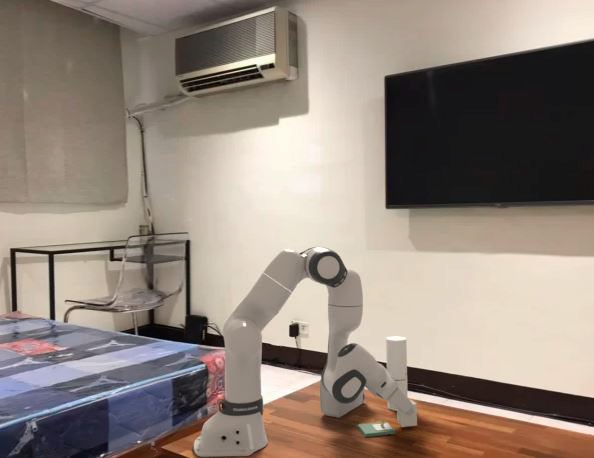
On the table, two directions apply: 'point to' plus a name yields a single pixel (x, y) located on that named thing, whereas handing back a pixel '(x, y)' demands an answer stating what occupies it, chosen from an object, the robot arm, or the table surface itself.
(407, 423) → the block
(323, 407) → the stereo radio cassette player
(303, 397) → the table surface
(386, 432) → the header board
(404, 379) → the cylindrical container
